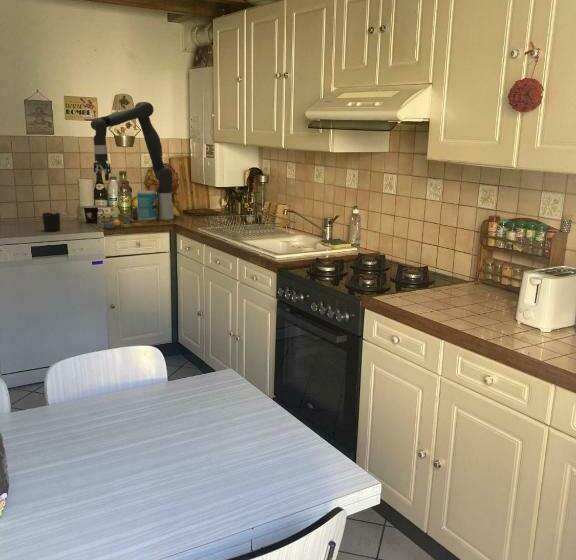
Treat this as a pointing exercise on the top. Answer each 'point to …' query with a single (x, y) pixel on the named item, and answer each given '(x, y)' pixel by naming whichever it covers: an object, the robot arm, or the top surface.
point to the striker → (135, 217)
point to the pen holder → (51, 222)
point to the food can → (147, 205)
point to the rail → (129, 224)
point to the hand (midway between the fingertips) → (103, 180)
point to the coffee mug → (91, 214)
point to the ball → (116, 222)
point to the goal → (105, 224)
